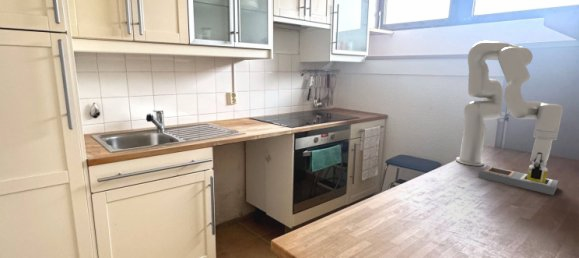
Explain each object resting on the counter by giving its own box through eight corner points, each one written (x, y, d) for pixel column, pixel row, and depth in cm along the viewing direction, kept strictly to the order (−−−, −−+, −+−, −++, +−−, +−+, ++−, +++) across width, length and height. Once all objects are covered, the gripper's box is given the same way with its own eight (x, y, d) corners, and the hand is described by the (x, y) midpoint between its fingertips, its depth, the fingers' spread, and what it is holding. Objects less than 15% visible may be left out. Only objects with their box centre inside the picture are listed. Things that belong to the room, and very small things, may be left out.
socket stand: (486, 171, 150) (487, 164, 149) (556, 187, 132) (558, 180, 131) (478, 177, 142) (479, 170, 141) (553, 195, 124) (554, 187, 123)
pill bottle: (537, 184, 135) (542, 159, 133) (547, 189, 129) (553, 163, 127) (522, 183, 136) (526, 158, 134) (531, 188, 130) (536, 162, 128)
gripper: (537, 130, 136) (529, 169, 140) (529, 135, 124) (521, 178, 128) (560, 133, 131) (551, 174, 135) (554, 139, 119) (545, 184, 123)
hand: (537, 176), depth 131 cm, fingers open, 7 cm apart
